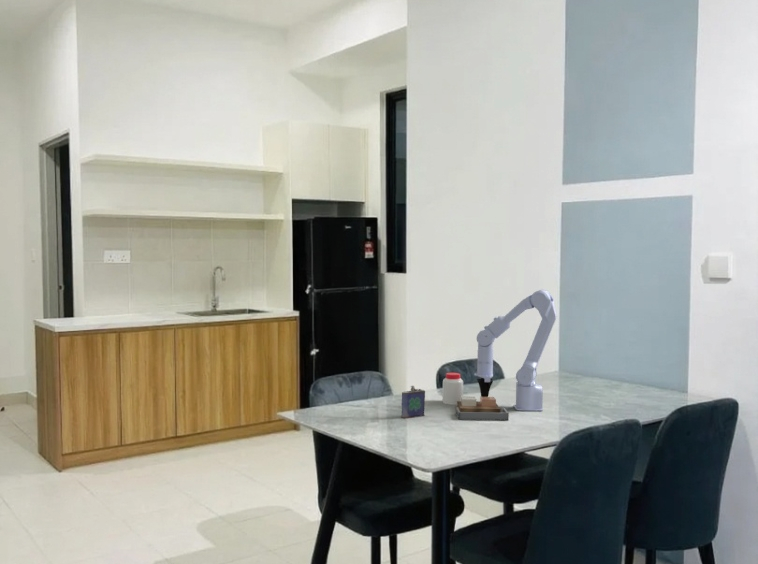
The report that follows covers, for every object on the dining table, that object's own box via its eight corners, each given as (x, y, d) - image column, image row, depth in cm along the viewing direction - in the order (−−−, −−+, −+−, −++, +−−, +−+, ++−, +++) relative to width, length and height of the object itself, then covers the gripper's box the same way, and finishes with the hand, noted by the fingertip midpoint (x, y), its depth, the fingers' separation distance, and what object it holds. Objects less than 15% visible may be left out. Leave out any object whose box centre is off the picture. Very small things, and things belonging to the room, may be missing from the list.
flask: (403, 418, 247) (404, 387, 247) (399, 417, 250) (399, 386, 249) (426, 416, 252) (426, 385, 252) (421, 414, 254) (421, 384, 254)
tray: (504, 414, 255) (504, 407, 255) (508, 420, 246) (508, 413, 246) (456, 413, 256) (456, 406, 256) (458, 419, 247) (458, 412, 247)
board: (494, 407, 267) (495, 401, 267) (499, 414, 256) (500, 408, 255) (457, 406, 268) (457, 401, 268) (460, 413, 256) (460, 408, 256)
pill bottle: (461, 405, 270) (462, 376, 270) (441, 404, 272) (441, 375, 271) (463, 401, 278) (464, 372, 277) (443, 400, 279) (444, 371, 279)
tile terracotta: (493, 403, 264) (493, 396, 264) (495, 406, 259) (495, 399, 259) (480, 403, 264) (480, 396, 264) (481, 406, 259) (481, 399, 259)
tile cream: (474, 403, 264) (474, 396, 264) (476, 406, 259) (476, 399, 259) (460, 403, 264) (460, 396, 264) (462, 406, 259) (462, 399, 259)
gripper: (472, 358, 277) (471, 394, 278) (476, 364, 263) (476, 401, 263) (490, 359, 277) (489, 394, 278) (496, 365, 262) (495, 402, 263)
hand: (484, 398), depth 270 cm, fingers closed
